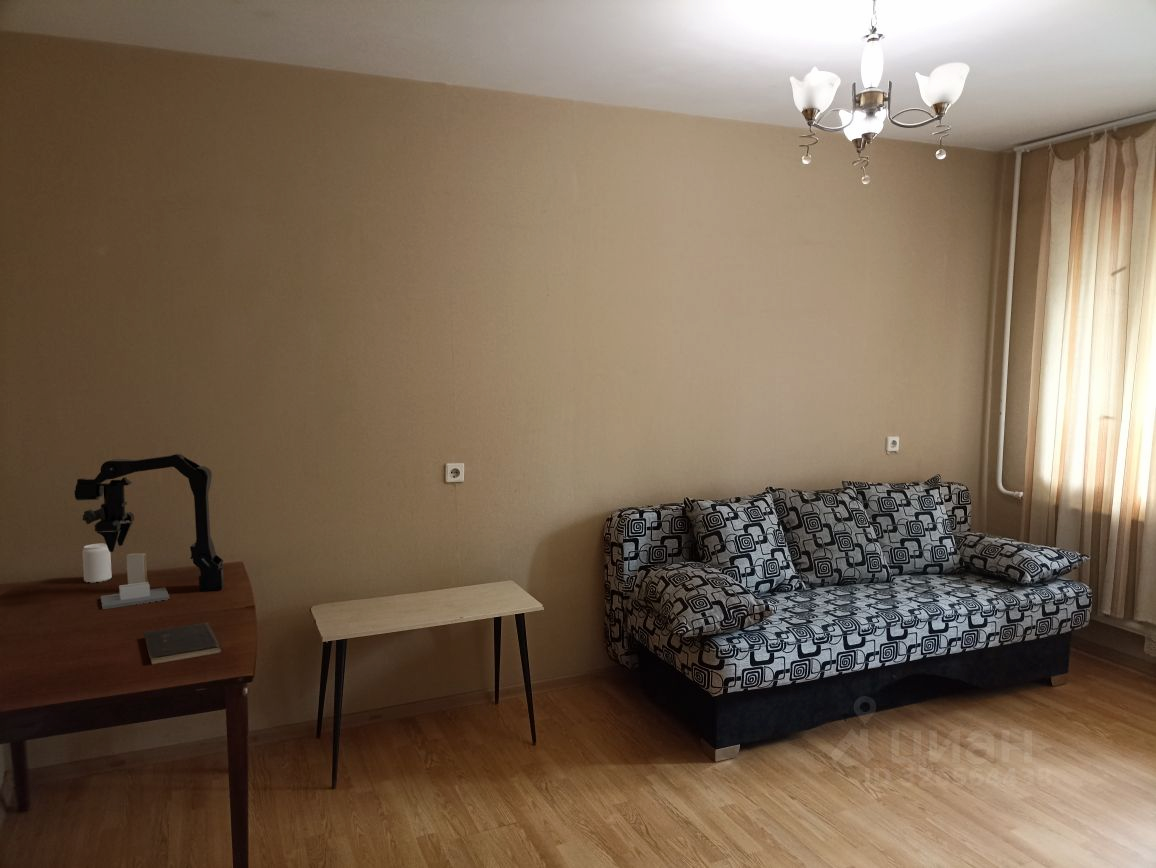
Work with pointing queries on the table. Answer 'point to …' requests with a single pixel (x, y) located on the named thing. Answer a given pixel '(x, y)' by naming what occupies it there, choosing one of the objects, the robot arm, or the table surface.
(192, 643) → the hardcover book
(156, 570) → the table surface
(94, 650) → the table surface
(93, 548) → the beverage can
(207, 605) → the table surface
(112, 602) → the grey base plate
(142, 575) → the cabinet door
